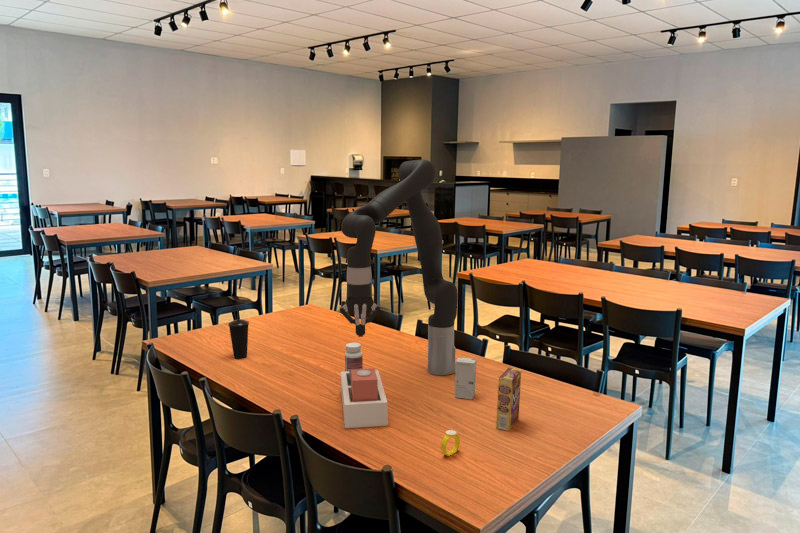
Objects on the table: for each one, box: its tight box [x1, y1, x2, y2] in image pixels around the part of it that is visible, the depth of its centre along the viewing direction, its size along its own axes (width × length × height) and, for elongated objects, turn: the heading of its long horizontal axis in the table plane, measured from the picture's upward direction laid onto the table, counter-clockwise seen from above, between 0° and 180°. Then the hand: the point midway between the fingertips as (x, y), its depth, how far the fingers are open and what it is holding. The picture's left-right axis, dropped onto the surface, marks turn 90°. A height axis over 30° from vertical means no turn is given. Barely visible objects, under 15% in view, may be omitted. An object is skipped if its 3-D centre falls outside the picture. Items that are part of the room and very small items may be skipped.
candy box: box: [495, 367, 522, 432], centre depth 159 cm, size 9×4×15 cm, turn 152°
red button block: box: [351, 367, 378, 402], centre depth 164 cm, size 7×9×8 cm
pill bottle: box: [344, 342, 364, 372], centre depth 197 cm, size 6×6×11 cm
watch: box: [440, 429, 461, 457], centre depth 144 cm, size 6×3×6 cm, turn 136°
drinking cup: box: [227, 306, 250, 360], centre depth 216 cm, size 8×8×20 cm
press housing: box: [340, 369, 389, 429], centre depth 171 cm, size 12×26×7 cm, turn 8°
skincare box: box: [454, 357, 477, 400], centre depth 179 cm, size 6×4×12 cm
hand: (360, 336), depth 174 cm, fingers closed
